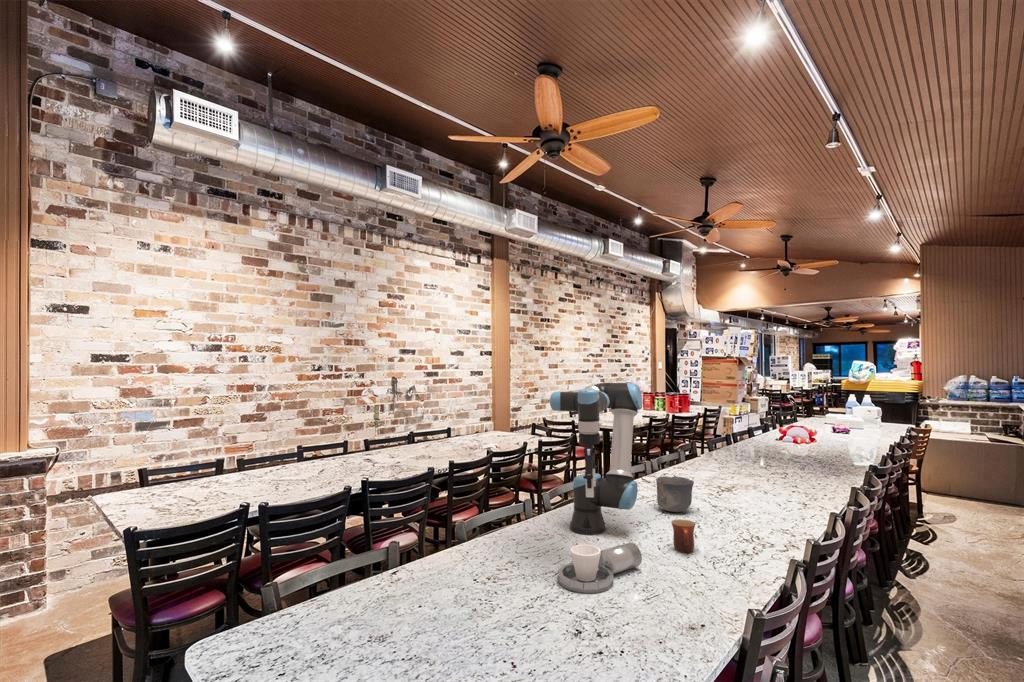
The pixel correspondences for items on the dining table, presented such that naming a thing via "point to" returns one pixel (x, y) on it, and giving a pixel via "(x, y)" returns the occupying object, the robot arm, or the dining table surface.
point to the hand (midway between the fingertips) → (590, 491)
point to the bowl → (674, 493)
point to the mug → (683, 535)
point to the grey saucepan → (602, 569)
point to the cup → (585, 561)
